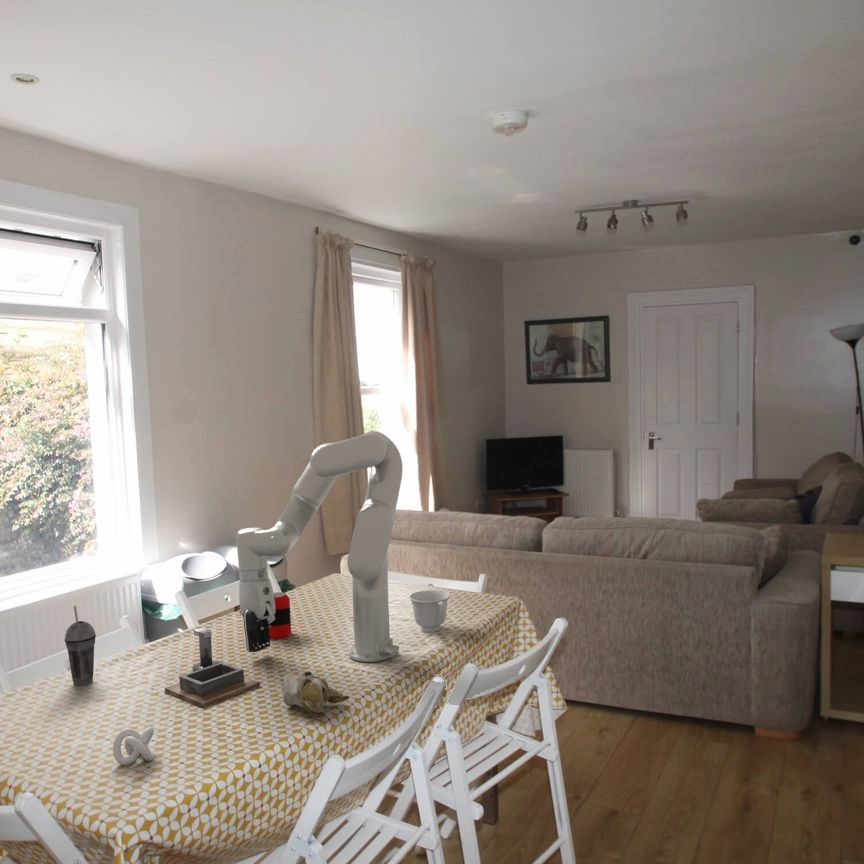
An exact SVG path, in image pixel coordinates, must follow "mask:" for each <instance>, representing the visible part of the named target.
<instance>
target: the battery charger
mask: <svg viewBox="0 0 864 864" xmlns="http://www.w3.org/2000/svg"><path fill="white" fill-rule="evenodd" d="M264 616H265V614H264ZM242 618H243V630H244V638H245V646H246V652H247V653H257V652H260V651H262V650H265V649H267V648H270V646H271V641H270V642H267V643H265V644H262V645H261V644H259V634H258V630H259V629H260V628H259V622H258V618H256V617H255V614H254V612H253V611H249V610H246V611H245V612H244V615H243V616H242ZM262 621H263V622H264V621H265V619H263V620H262Z"/></svg>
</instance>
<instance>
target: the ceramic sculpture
mask: <svg viewBox="0 0 864 864" xmlns="http://www.w3.org/2000/svg"><path fill="white" fill-rule="evenodd" d="M282 680H283V681H282V682H283V692H282V696H283V702H284V704H285V705H286V706H287V707H293V705H294V706H297V707H301V708H303V709H304V710H305V711H306V712H307V713H308V714H309V715H310V716H322V715H323V716H324V715H325V714H326V712H325V709H324V707H325V706H326V705H327V704H328V703H330V704H337V703H341V702H344V701H348V700H349V699H350V698H351V697H350V696H349V695H343V694H342V693H341V692H339V690H337V689H334V688H333V687H332V686H329V684H328V682H327V681H326V680H325V679H324V678H322V677H320V676H315V675H313V673H312V672H311V671H305V672H303V673H302V674H300V675H298V674H295V673H289V672H284V673H283V679H282Z"/></svg>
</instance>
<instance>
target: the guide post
mask: <svg viewBox="0 0 864 864" xmlns="http://www.w3.org/2000/svg"><path fill="white" fill-rule="evenodd" d="M193 635H194V636H197V637H198V645H199V646H198V647H199V661H200V662H197V663H195V664H194V665H192V672H194V671H197V670H200V669H203V668H206V667H208V666H211V665H214V664H217V663H220V662H221V661H218V660H213V652H212V650H213V649H212V647H213V646H212V631H211V630H210V629H204V628H201V627H199V628H196V629H193Z"/></svg>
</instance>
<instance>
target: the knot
mask: <svg viewBox="0 0 864 864" xmlns="http://www.w3.org/2000/svg"><path fill="white" fill-rule="evenodd" d="M154 733H155V729H154V727H152V726H148V727H146V728H145V729H144V730H143V732H142V734H140V733H139V732H138V731H137V730H135V729H134V728H129V727H128V728H124V729H122V730H121V731H119V732H118V734H117V735H116V736H115V739H114V741H113V746H112V753H113V757H114V759H115V762H117V764H119V765H121V766H129V765H132V764H133V763H134V762H135V761H136V760H137V759H138V757H140V755H141V756H142V757H143V758H144V759H145V760H146V761H147V762H151V761H152V760H153V759H154V755H153V753H152V752H151V749H150V748H149V747H148V745H149V743H150V742H151V740H152V738H153V736H154ZM123 740H124V748H125V751H126V753H127V754H128V756H127V757H125V756H124V754H123V753H122V743H123Z"/></svg>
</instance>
